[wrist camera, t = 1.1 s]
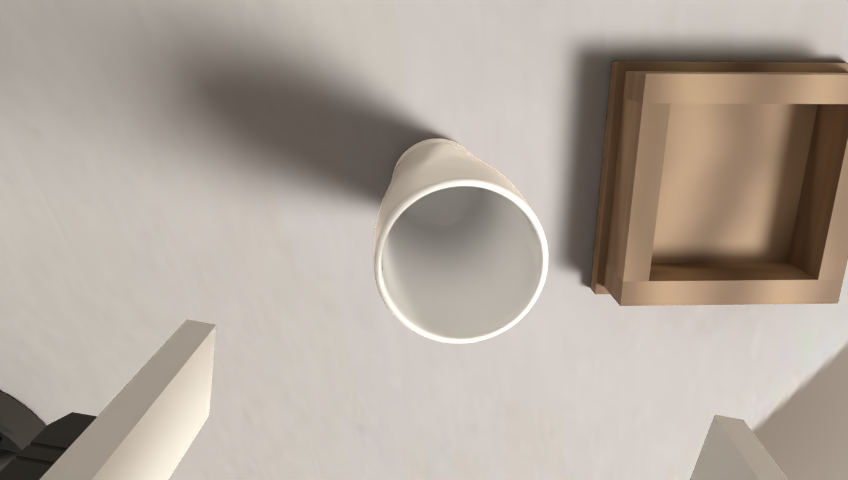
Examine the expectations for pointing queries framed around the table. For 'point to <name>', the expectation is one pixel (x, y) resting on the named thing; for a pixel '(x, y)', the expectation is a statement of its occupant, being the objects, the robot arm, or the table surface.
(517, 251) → the drinking glass
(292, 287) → the table surface
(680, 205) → the walnut dock
